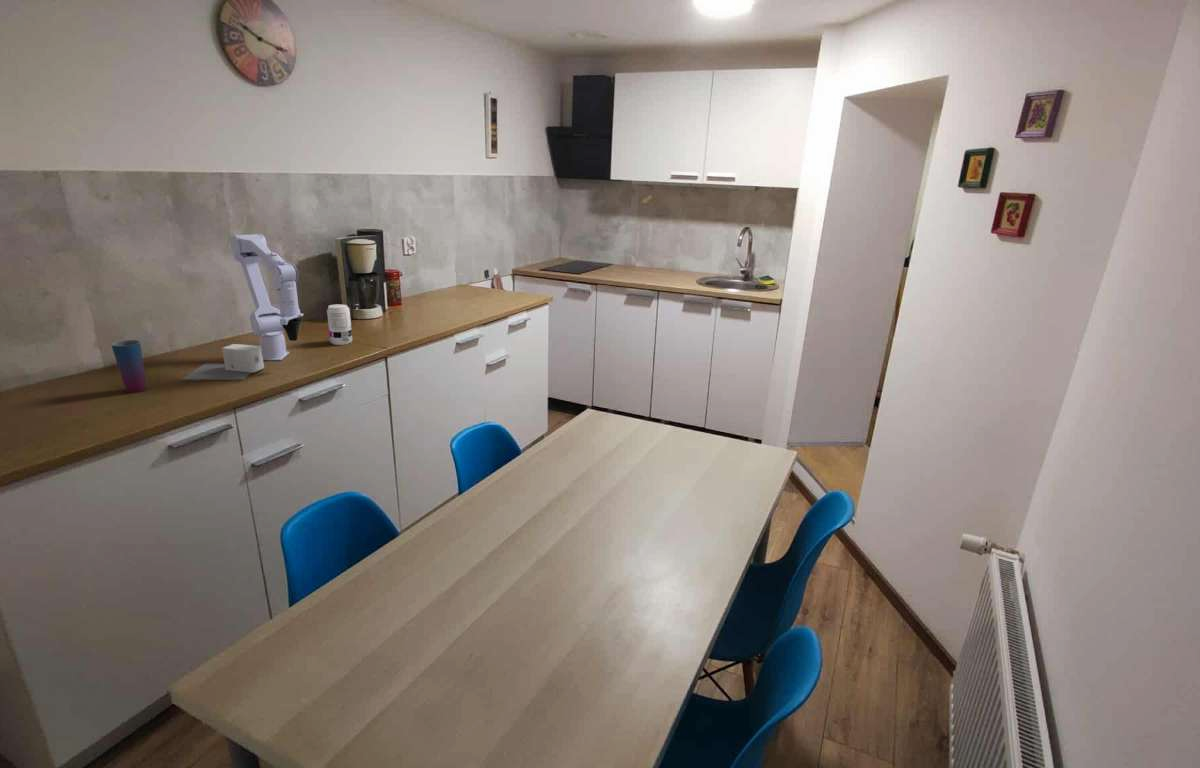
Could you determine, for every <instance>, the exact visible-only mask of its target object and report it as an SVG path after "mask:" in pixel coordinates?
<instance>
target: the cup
mask: <svg viewBox="0 0 1200 768" xmlns="http://www.w3.org/2000/svg"><path fill="white" fill-rule="evenodd" d="M110 346H111V348H112V351H113V355H114V357H115V360H116V363H117V366H118V367H117V368H118V371H119V373H120V376H121V379H122V383H123V385H124V389H125V392H126V393H128V394H134V393H135V394H136V393H141V392H144V391H146V390H147V389H148V387H147V383H146V382H147V381H146V374H145V367H144V360H143V353H142V352H143V351H142V345H141V341H140V340H138V339H125V340H118V341H114V342H112V343H111V345H110Z"/></svg>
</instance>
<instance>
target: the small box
mask: <svg viewBox="0 0 1200 768" xmlns="http://www.w3.org/2000/svg"><path fill="white" fill-rule="evenodd" d="M221 352H222V356H223V362H224V363H223V364H225V370H230V371H239V372H249V373H251V374H254V373H256V372H259V371H261V370H262V369H265V363H264V360H263V358H262V352H261V346H260V345H251V344H240V343H239V344H238V343H232V344H229V345H227V346H224V347H221Z"/></svg>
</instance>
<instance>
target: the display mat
mask: <svg viewBox="0 0 1200 768" xmlns="http://www.w3.org/2000/svg"><path fill="white" fill-rule="evenodd" d="M249 374H250V373H249V372H239V371H230V370H225V363H204V364H202V365H201V366H199V367H197V368H196V369H195V370H192V372H190V373H189V374H187V375H186V376H184V377H183V378H182V379H181V381H182V382H200V381H199V380H243V379H244V378H245V379H246V377H247V376H248V375H249ZM250 375H251V374H250ZM250 375H249V376H250ZM249 376H248V377H249ZM248 377H247V378H248ZM245 379H244V380H245ZM244 380H243V381H244Z"/></svg>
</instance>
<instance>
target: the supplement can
mask: <svg viewBox="0 0 1200 768" xmlns="http://www.w3.org/2000/svg"><path fill="white" fill-rule="evenodd" d="M326 314H327V324H328V333H329V334H328V335H329V341H330V343H331V344H332V345H334V346H346V345H349V343H350V344H351V343H352V342H353V333H352V320H351V312H350V307H348V305H347V304H343V303H341V304H339V303H337V304H336V303H335V304H330V305H328V308H327V309H326Z"/></svg>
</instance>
